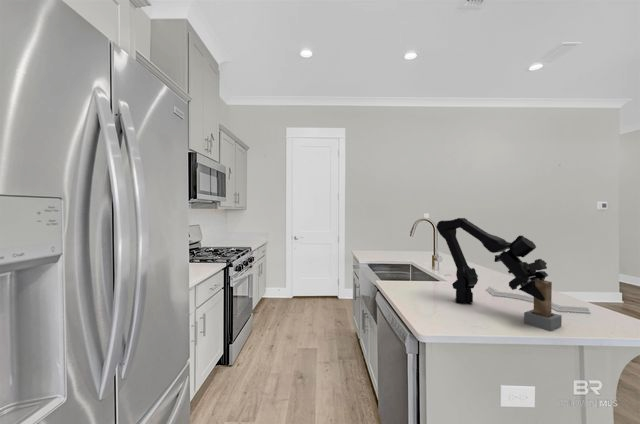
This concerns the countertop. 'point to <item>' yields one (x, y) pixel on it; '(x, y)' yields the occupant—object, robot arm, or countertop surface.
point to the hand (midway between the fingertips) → (546, 299)
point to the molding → (531, 299)
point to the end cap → (543, 320)
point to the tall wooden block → (546, 290)
